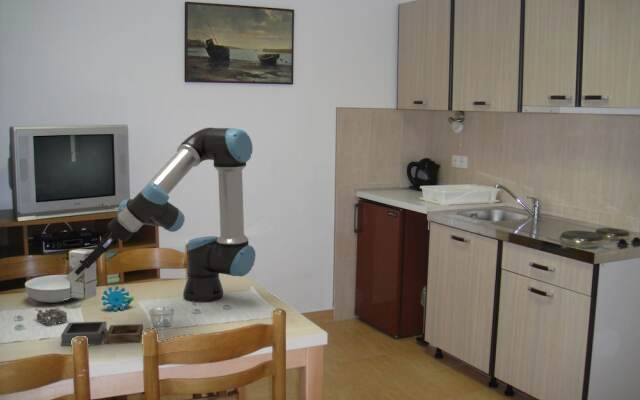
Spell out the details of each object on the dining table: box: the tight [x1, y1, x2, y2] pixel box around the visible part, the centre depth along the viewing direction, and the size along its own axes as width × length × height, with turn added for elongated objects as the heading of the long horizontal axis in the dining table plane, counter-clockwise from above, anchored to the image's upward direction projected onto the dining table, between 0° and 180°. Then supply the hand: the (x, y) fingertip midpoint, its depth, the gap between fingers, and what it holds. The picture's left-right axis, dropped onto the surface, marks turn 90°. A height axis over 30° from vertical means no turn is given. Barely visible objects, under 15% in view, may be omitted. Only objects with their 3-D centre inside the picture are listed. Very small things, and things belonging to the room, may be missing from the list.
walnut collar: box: [105, 323, 144, 344], centre depth 207 cm, size 10×10×2 cm
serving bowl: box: [24, 274, 70, 304], centre depth 245 cm, size 21×21×7 cm
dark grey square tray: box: [60, 320, 108, 347], centre depth 205 cm, size 12×12×4 cm
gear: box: [101, 285, 135, 312], centre depth 237 cm, size 11×6×10 cm
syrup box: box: [68, 248, 97, 300], centre depth 202 cm, size 6×6×14 cm
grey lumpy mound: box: [35, 307, 68, 326], centre depth 221 cm, size 11×8×4 cm
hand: (71, 277), depth 202 cm, fingers closed on syrup box, 7 cm apart
